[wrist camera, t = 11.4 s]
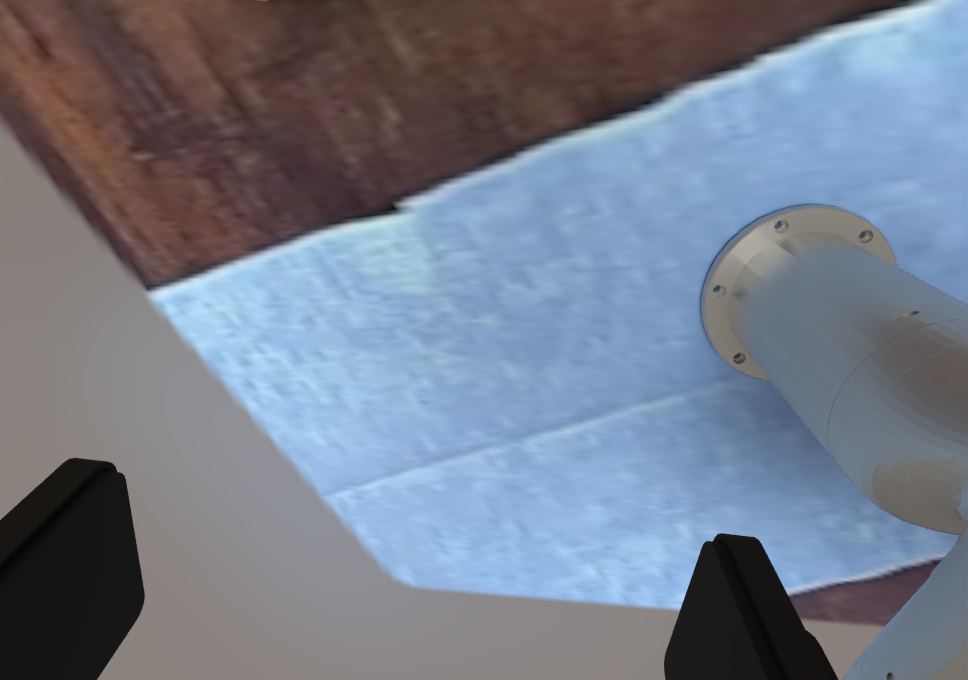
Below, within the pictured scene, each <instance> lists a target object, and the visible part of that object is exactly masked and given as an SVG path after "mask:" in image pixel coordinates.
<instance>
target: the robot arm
mask: <svg viewBox="0 0 968 680" xmlns="http://www.w3.org/2000/svg"><path fill="white" fill-rule="evenodd" d="M778 221H780V224H779V225H778V226H777V227H775V225H776V223H777V222H778ZM861 232H862V234H861ZM860 234H861V235H860ZM859 235H860V236H859ZM717 285H719V287H718V288H717V289H716V290H713V289H714V287H716V286H717ZM701 315H702V322H703V325H704V329H705V332H706V335H707V337H708V338H709V340H710V342H711V343H712V345H713V347H714V348H715V350H716V351H717V352H718V353H719V355H720V356H721V357H722V358H723V359H724V360H725V361H726V362H727V363H728V364H729V365H730V366H732V367H733V368H735V369H737V370H739V371H740V372H742V373H744V374H746V375H748V376H752V377H755V378H758V379H762V380H769V381H770V382H771V383H772V384H773V386H774V387H775V388H776V389H777V391H778V392H779V393H780V394H781V396H782V397H783V398H784V399H785V401H786V402H787V403H788V404H789V406H790V407H791V408H792V409H793V411H794V412H795V413H796V414H797V416H798V417H799V418H800V419H801V420H802V422H803V423H804V424H805V425H806V427H807V428H808V429H809V430H810V432H811V433H812V434H813V435H814V437H815V438H816V439H817V440H818V442H819V443H820V444H821V445H822V447H823V448H824V449H825V450H826V452H827V453H828V454H829V455H830V457H831V458H832V459H833V460H834V462H835V463H836V464H837V465H838V467H839V468H840V469H841V470H842V472H843V473H844V474H845V475H846V476H847V477H848V479H849V480H850V481H851V482H852V484H853V485H854V486H855V487H856V488H857V489H858V490H859V491H860V492H861V493H862V494H863V495H864V496H865V497H866V498H867V499H869V500H870V501H871V502H872V503H874V504H875V505H876V506H878V507H879V508H881V509H882V510H884V511H886V512H887V513H889V514H891V515H893V516H895V517H897V518H899V519H901V520H903V521H906V522H908V523H911V524H914V525H917V526H921V527H924V528H927V529H931V530H935V531H939V532H944V533H950V534H956V535H960V536H959V538H958V540H957V542H956V544H955V545H954V546H953V548H952V549H951V550H950V551H949V552H948V554H947V555H946V556H945V557H944V559H943V560H942V561H941V562H940V563H939V565H938V566H937V567H936V568H935V569H934V570H933V571H932V573H931V575H930V578H929V579H928V580H927V581H926V582H925V583H924V584H923V585H922V587H921V588H920V589H919V590H918V591H917V592H916V593H915V594H914V595H913V596H912V598H911V599H910V600H909V601H908V602H907V603H906V604H905V605H904V606H903V608H902V609H901V610H900V611H899V612H898V613H897V614H896V615H895V616H894V618H893V619H892V620H891V621H890V622H889V623H888V624H887V625H886V626H885V628H884V629H883V630H882V631H881V632H880V633H879V634H878V635H877V636H876V638H875V639H874V640H873V641H872V642H871V643H870V644H869V645H868V647H867V649H866V650H865V651H864V652H863V653H862V654H861V656H860V657H859V658H858V659H857V660H856V661H855V663H854V664H853V665H852V666H851V668H850V669H849V670H848V672H847V673H846V674H845V675H844V677H843V678H842V680H968V305H966V304H965V303H963V302H961V301H959V300H957V299H955V298H953V297H952V296H950V295H948V294H946V293H944V292H942V291H941V290H939V289H937V288H935V287H933V286H931V285H930V284H928V283H926V282H924V281H922V280H920V279H919V278H917V277H915V276H913V275H911V274H909V273H908V272H906V271H904V270H902V269H900V268H898V267H897V266H896V261H895V256H894V254H893V252H892V249H891V247H890V245H889V242H888V241H887V240H886V238H885V237H884V236H883V235H882V233H881V232H880V231H879V229H877V228H876V227H875V226H873V225H872V224H871V223H870V222H868V221H867V220H866V219H864V218H862V217H860V216H858V215H856V214H854V213H852V212H850V211H847V210H844V209H841V208H838V207H835V206H827V205H818V204H813V205H799V206H794V207H790V208H786V209H782V210H778V211H776V212H773V213H771V214H769V215H766V216H764V217H762V218H760V219H758V220H756V221H755V222H753V223H752V224H750V225H749V226H747V227H746V228H744V229H743V230H742V231H740V232H739V233H738V234H737V235H736V236H735V237H734V238H733V239H732V240H731V241H729V242H728V244H727V245H726V246H725V247H724V249H723V250H722V251H721V252H720V254H719V255H718V256H717V258H716V259H715V261H714V263H713V265H712V267H711V268H710V270H709V272H708V275H707V278H706V281H705V284H704V287H703V291H702V299H701ZM736 354H737V355H736ZM144 597H145V594H144V587H143V581H142V575H141V569H140V563H139V557H138V551H137V544H136V539H135V533H134V527H133V521H132V514H131V508H130V502H129V496H128V490H127V484H126V479H125V476H124V475H123V474H122V473H119V472H117V470H116V467H115V466H114V464H113V463H110V462H106V461H97V460H89V459H80V458H72V459H68V460H67V461H66V462H64V463H63V464H62V465H61V466H60V467H58V469H56V470H55V471H54V472H53V473H52V474H51V475H50V476H48V477H47V478H46V479H45V480H44V481H43V482H42V483H41V484H40V485H39V486H37V487H36V488H35V489H34V490H33V491H32V492H31V493H30V494H29V495H28V496H27V497H25V498H24V499H23V500H22V501H21V502H20V503H19V504H18V505H17V506H15V507H14V508H13V509H12V510H11V511H10V512H9V513H8V514H7V515H6V516H4V517H3V518H2V519H1V520H0V680H97V679H98V677H99V676H100V674H101V673H102V671H103V670H104V668H105V667H106V665H107V664H108V662H109V661H110V659H111V658H112V656H113V655H114V653H115V652H116V650H117V649H118V647H119V646H120V644H121V643H122V641H123V640H124V638H125V637H126V635H127V634H128V632H129V630H130V629H131V628H132V626H133V625H134V623H135V621H136V620H137V618H138V616H139V615H140V612H141V610H142V607H143V604H144ZM664 670H665V678H666V680H838V678H837V676H836V674H835V672H834V670H833V668H832V666H831V665H830V663H829V661H828V659H827V657H826V655H825V653H824V651H823V649H822V647H821V646H820V644H819V643H818V641H817V640H816V638H815V637H814V636H813V635H812V634H810V633H809V632H808V631H806V630H805V628H804V626H803V624H802V622H801V620H800V618H799V616H798V614H797V612H796V610H795V608H794V606H793V604H792V603H791V601H790V599H789V597H788V595H787V593H786V591H785V589H784V587H783V585H782V583H781V581H780V579H779V577H778V575H777V573H776V571H775V569H774V567H773V566H772V564H771V562H770V560H769V558H768V556H767V554H766V552H765V550H764V548H763V546H762V544H761V543H760V541H759V540H758V539H756V538H755V537H748V536H739V535H731V534H722V533H721V534H718V535H717V536H716V537H715V539H714V541H713V542H711V541H706V542H705V543H704V544H703V546H702V549H701V552H700V555H699V558H698V561H697V563H696V566H695V569H694V572H693V575H692V578H691V581H690V584H689V587H688V590H687V592H686V595H685V598H684V601H683V604H682V607H681V610H680V613H679V616H678V619H677V621H676V624H675V627H674V630H673V633H672V636H671V639H670V642H669V645H668V648H667V650H666V654H665V661H664Z"/></svg>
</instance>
